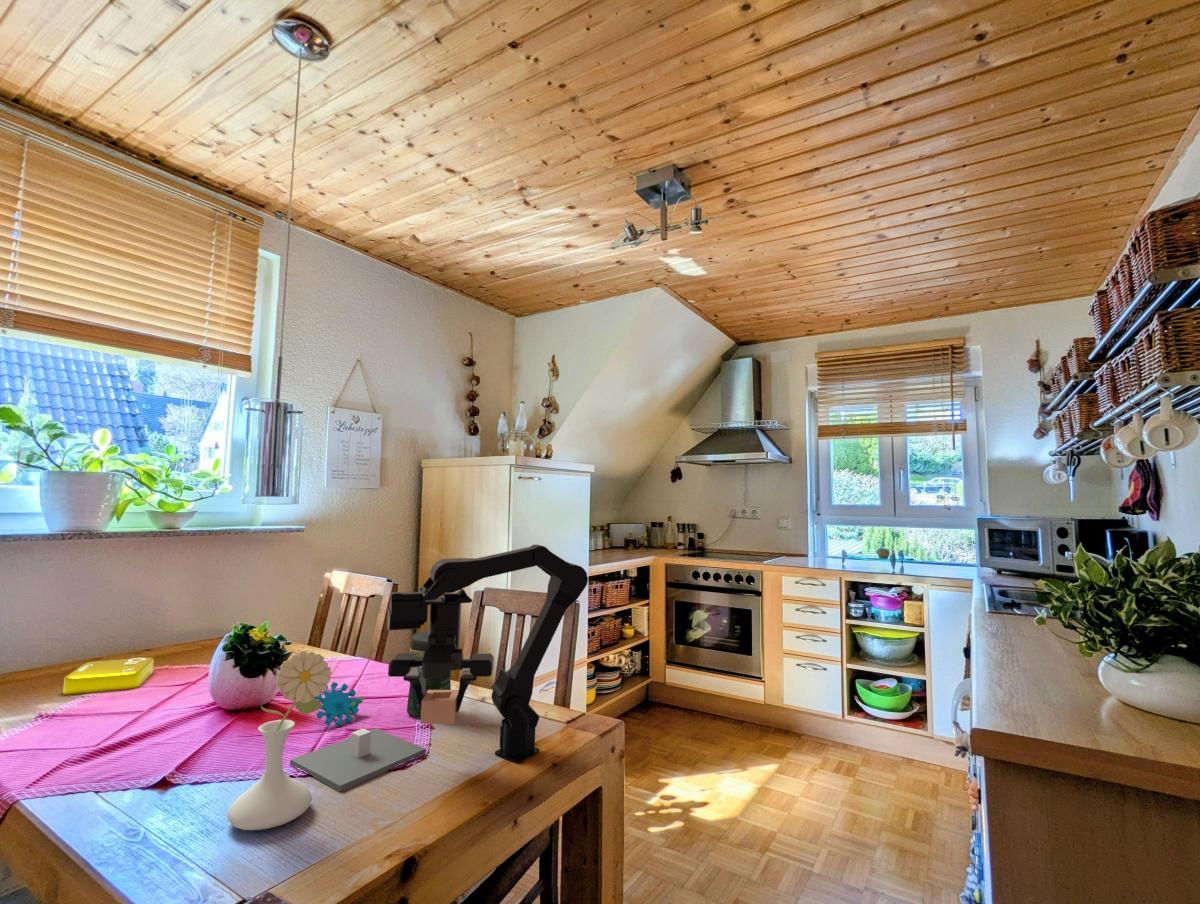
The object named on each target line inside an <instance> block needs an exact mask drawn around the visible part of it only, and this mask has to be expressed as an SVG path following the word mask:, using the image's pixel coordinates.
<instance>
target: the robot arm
mask: <svg viewBox="0 0 1200 904" xmlns="http://www.w3.org/2000/svg"><path fill="white" fill-rule="evenodd" d="M534 567H537V568H539V569H540V570H541V571H543V573H545V574H547V575H548V576H549V577H550V578H549V580H548V584H547V592H546V597H545V602H544V604H543V606H542V608H541V610H540V612H539V614H538V616H537V618H536V620H535V621H534V624H533V626H532V628H531V630H530V632H529V634H528V636H527V638H526V640H525V642H524V644H523V646H522V648H521V650H520V652H519V655H518V657H517V658H516V661H515V663H514V664H513V665H512V666H511V667H510V668H509V669H508V670H507V671H506V670H505V669H503V668H500V670H499V673H498V675H497V679H495V682H494V683H493V684H492V685H491V686H490V687H491V689H492V692H491V700H492V704H493V706H495V708H496V710H497V711H498V712H499V714H500V715H501V717H502V718H503V719H501V725H500V727H499V749H497V750H495V751H494V754H495V756H498V757H501V758H503V759H506V760H510V761H511V760H513V761H512V762H514V761H516V762H515V763H517V762H520V763H522V762H524V761H526V760H528V759H529V758H531V757H533V756H534V754H535V753H537V752H538V753H540V752H539V751H541V750H540V748H539V747H536V728H537V726H538V722H539V719H540V716H539V714H538V713H537V712H536V710H535V709H534V708H532V706H531V705H530V702H531V699H532V695H533V690H534V680H535V675H536V673H537V671H538V669H539V667H540V665H541V664H542V660H543V658H544V656H545V655H546V653H547V650H548V648H549V646H550V644H551V642H552V640H553V638H554V636H555V633H556V632H557V629H558V628H559V625H560V623H561V621H562V619H563V617H564V616H565V613H566V611H567V609H568V608H569V607H570V606H571V605H573V603H575V602H576V601H577V600H578V599H579V597H580V596H581V594H583V593H582V592H584V590H585V588H586V587H587V586H588V581H589V577H588V573H587V571H586V570H585V568H583V566H581V565H577V564H574V563H572V562H568V561H566V560H564V559H563V558H561V557H559V556H558V555H557V554H555V553H554V552H552V551H550V550H549V549H548V548H547V547H546V546H544V545H540V544H532V545H530V546H528V547H523V548H519V549H514V550H509V551H504V552H499V553H495V554H491V555H486V556H482V557H473V558H472V557H471V558H467V557H465V558H463V557H459V558H454V557H453V558H442V559H439V560H438V561H435V563H434V564H433V565H432V566H431V568H430V572H429V577H428V578H427V580H426V581H425V582H424V583H423V584H422V586H421V587H420V588H419V590H418V591H415V592H414V591H413V592H410V591H409V592H400V591H392V592H391V593H390V599H389V606H388V608H387V616H386V617H387V621H386V622H387V623H386V624H387V626H386V627H387V631H402V630H416V629H417V630H419V629H421V627H422V626H424V625H425V624H426V623H427V620H428V614H429V622H428V631H429V636H428V644H427V647H426V649H425V653H424V657H423V659H417V655H416V653H410V652H409V653H397V654H396V655H395V656H394V657H393V658H392V659H391V661H390V662H389V664H388V667H387V676H388V677H391V678H393V677H395V678H396V677H397V678H398V677H400V678H401V677H402V678H403V681H404V682H409V684H410V683H411V684H412V686H413V688H414V690H415V692H416V696H417V699H418V702H419V706H420V709H421V702H422V699H423V698H424V696H425V694H426V681H425V679H430V678H441V679H446V678H448V677H449V676H450V677H451V673H452V671H458V670H459V671H462V673H461V676H460V677H459V686H458V690H459V691H458V697H457V703H456V712H458V711H460V709H461V706H462V703H463V700H464V697H465V694H466V691H467V689H468V686H469V685H470V683H471V682H473V681H476V680H477V679H478V677H481V678H483V677H490V676H492V674H493V671H494V666H495V665H494V663H495V658H494V657H495V656H494V655H493V654H492V653H473V654H472V656H471V658H464V652H463V651H464V650H463V648H460V635H461V616H462V615H461V614H462V604H470V603H472V602H473V599H472V598H471V597H470V596H468V594H467V593H466V590H464V589H465V588H466V587H470V586H471V585H473V584H474V583H476V582H478V581H480V580H483V579H486V578H490V577H494V576H499V575H502V574H506V573H511V572H515V571H519V570H524V569H528V568H534ZM457 591H458V592H457ZM428 606H429V607H428ZM428 608H429V613H428ZM458 713H459V712H458ZM538 753H537V754H538ZM532 755H533V756H532ZM535 755H536V754H535ZM530 756H531V757H530ZM528 757H529V758H528ZM527 758H528V759H527ZM525 759H526V760H525ZM523 760H524V761H523ZM521 761H522V762H521Z"/></svg>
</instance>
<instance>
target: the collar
mask: <svg viewBox="0 0 1200 904" xmlns="http://www.w3.org/2000/svg"><path fill="white" fill-rule="evenodd" d="M458 691H459V689H451V690H428V691H427V693H426V694H425V696H424V698H423V699H422V702H421V718H420V724H421V725H423V724H428V725H429V724H430V725H433V724H455V722H456V719H457V716H458V714H459V711H460V710H459V711H458V712H456V703H457V697H458Z"/></svg>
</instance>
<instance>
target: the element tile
mask: <svg viewBox="0 0 1200 904" xmlns="http://www.w3.org/2000/svg"><path fill="white" fill-rule="evenodd" d="M154 661H155V660H154V658H153V657H135V658H127V659H126V658H125V659H124V658H123V659H112V660H111V659H110V660H98V661H89V662H86V663H84V664H82V665H81V666H79V667H77V668H76V669H75V670H73V671H72V672H71V673H69V674H67V675H66V676H64V677H63V688H62V695H78V694H81V695H82V694H88V693H101V692H103V693H104V692H113V691H114V692H115V691H122V690H130V689H131V690H132V689H135V688H136V689H137V688H139V687H140V686H141V685H142V684H143V683H144V682H145V681H146V680H147V679H148V678H149V677H150V676H151V675H152V674H153V670H154Z"/></svg>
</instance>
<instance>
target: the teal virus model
mask: <svg viewBox="0 0 1200 904" xmlns="http://www.w3.org/2000/svg"><path fill="white" fill-rule="evenodd" d="M338 686H339V683H338V682H336V681H332V683H331V684H330V689H331V690H330V692H328V689H329V685H327V690H326V691H325V692H322V693H323V695H324V697H322V694H320V695H319V696H318V697H315V696H314V699H316V700H318V701H319V702H320V703H321V704H322V705H323V707H322V708H320V709H319V711H318V712H317V713H316V718H317V719H318V720H321V719H322V718H323V717H324V716H325V717H326V719H325V720H324V723H325V725H327V726H330V725H331V724H332V723H333V719H335V718H338V719H337V721H336V722H335V726H336V727H342V725H343V724H344V721H345V723H351V722H352V721H353V719H354V718H353V716H356V715H357V713H358V712H359V710H360V709H359V708H358V707H359V705H360V704H362V703H363V701H364V700H365V698H364V696H360V697H359V698H358V697H357V698H354V697H355V695H356V694H357V693H356V690H355V689H351V690H350V691H347V689H348V688H349V685H347V684H346V683H345V682H343V684H342V685H341V687H340V689H338V690H336V688H337V687H338ZM344 691H347V692H344ZM351 697H352V698H351ZM321 710H322V711H321ZM323 711H324V712H323ZM351 714H352V715H353V716H352V715H351ZM343 716H345V717H346V718H345V720H343Z"/></svg>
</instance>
